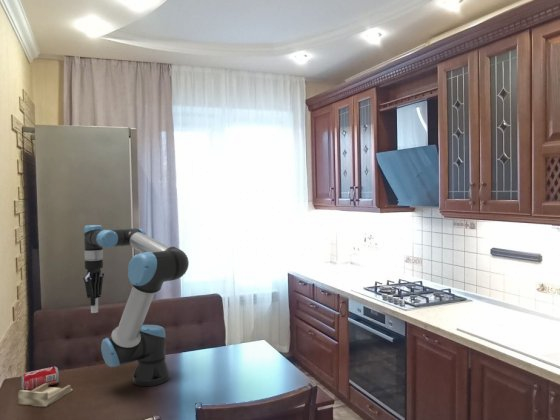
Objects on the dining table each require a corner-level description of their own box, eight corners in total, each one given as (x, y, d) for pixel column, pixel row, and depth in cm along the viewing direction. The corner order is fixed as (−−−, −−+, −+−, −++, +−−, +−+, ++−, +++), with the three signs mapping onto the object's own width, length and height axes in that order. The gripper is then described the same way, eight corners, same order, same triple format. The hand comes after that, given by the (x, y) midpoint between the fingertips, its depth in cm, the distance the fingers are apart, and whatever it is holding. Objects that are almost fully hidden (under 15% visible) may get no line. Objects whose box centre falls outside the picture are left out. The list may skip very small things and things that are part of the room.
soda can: (58, 365, 181) (22, 372, 173) (60, 383, 180) (23, 391, 171) (55, 366, 187) (20, 373, 179) (56, 383, 185) (21, 392, 177)
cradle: (72, 390, 176) (72, 378, 176) (45, 407, 161) (45, 393, 161) (47, 387, 178) (47, 375, 178) (18, 404, 164) (18, 390, 164)
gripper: (94, 258, 200) (94, 309, 200) (77, 261, 187) (78, 315, 187) (109, 258, 199) (110, 309, 199) (93, 261, 186) (94, 316, 186)
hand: (94, 312), depth 193 cm, fingers closed
